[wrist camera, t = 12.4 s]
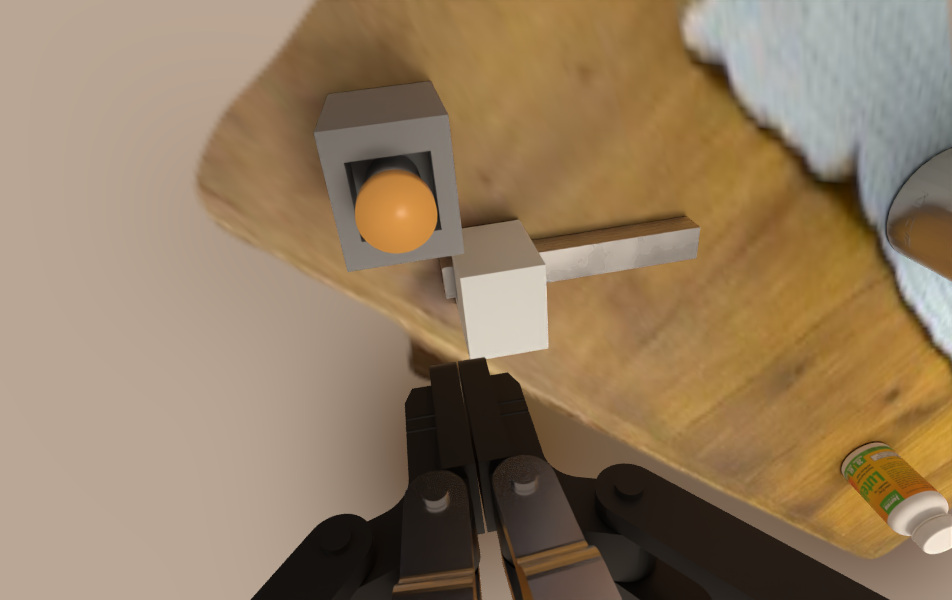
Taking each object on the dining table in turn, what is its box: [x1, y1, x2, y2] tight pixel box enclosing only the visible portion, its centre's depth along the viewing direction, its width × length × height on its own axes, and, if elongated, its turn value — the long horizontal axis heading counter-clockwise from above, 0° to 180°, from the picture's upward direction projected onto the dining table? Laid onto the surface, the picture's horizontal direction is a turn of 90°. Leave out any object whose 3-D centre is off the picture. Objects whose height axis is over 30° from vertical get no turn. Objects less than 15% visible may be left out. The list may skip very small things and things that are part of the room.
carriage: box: [452, 220, 548, 359], centre depth 36 cm, size 5×6×7 cm
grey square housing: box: [313, 81, 465, 272], centre depth 30 cm, size 6×7×9 cm
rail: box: [439, 216, 700, 299], centre depth 39 cm, size 18×2×2 cm, turn 96°
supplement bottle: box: [842, 443, 952, 554], centre depth 54 cm, size 5×5×10 cm
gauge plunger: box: [355, 155, 437, 253], centre depth 27 cm, size 4×4×5 cm
